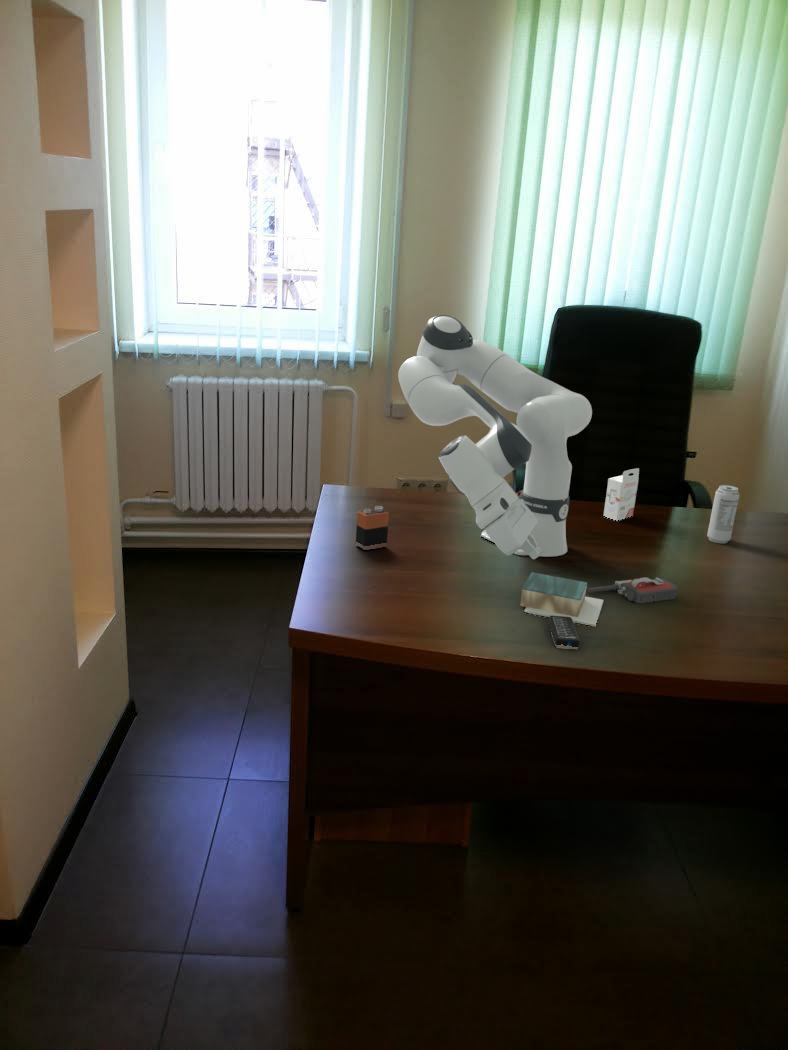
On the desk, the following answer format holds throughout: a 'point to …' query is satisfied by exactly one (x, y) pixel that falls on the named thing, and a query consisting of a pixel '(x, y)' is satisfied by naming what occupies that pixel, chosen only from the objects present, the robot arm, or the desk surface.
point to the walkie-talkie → (642, 589)
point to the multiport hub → (564, 631)
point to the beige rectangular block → (553, 594)
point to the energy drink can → (723, 514)
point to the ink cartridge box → (621, 495)
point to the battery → (372, 526)
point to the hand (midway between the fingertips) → (537, 555)
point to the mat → (586, 614)
